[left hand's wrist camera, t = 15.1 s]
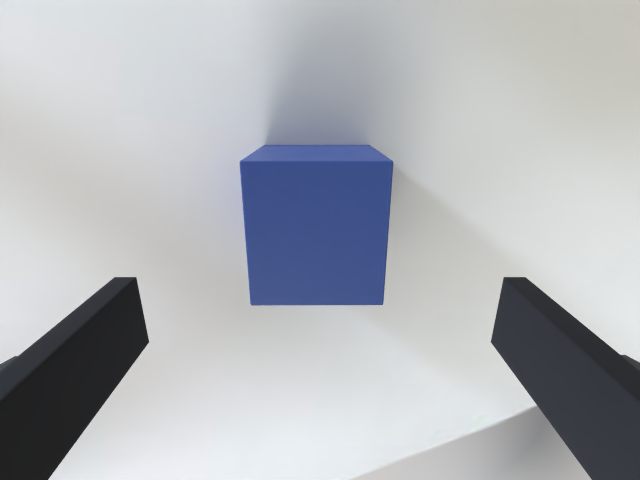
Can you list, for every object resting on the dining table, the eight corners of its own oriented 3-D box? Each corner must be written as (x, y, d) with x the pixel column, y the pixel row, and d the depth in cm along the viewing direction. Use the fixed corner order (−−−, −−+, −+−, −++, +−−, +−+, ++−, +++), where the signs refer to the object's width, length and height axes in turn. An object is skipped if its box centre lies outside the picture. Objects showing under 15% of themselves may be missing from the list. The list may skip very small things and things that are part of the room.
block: (365, 250, 30) (383, 305, 22) (269, 250, 30) (250, 305, 22) (370, 145, 27) (393, 160, 19) (263, 145, 27) (239, 161, 19)
